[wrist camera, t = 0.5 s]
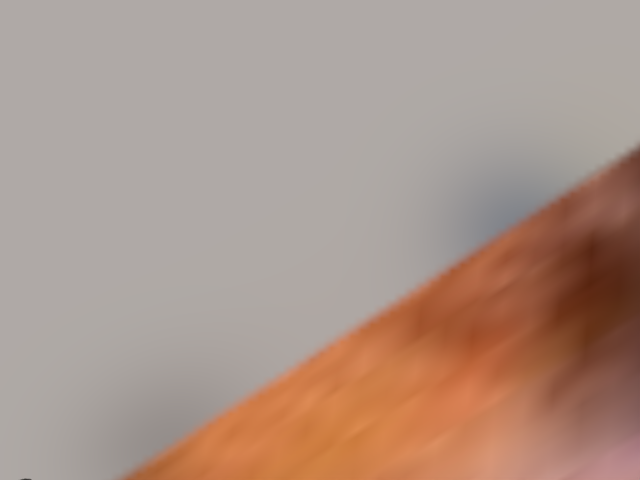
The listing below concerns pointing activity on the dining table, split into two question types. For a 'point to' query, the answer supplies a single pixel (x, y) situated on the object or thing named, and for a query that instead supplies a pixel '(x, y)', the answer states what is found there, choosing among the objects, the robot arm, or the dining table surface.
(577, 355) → the dining table surface
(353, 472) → the dining table surface
